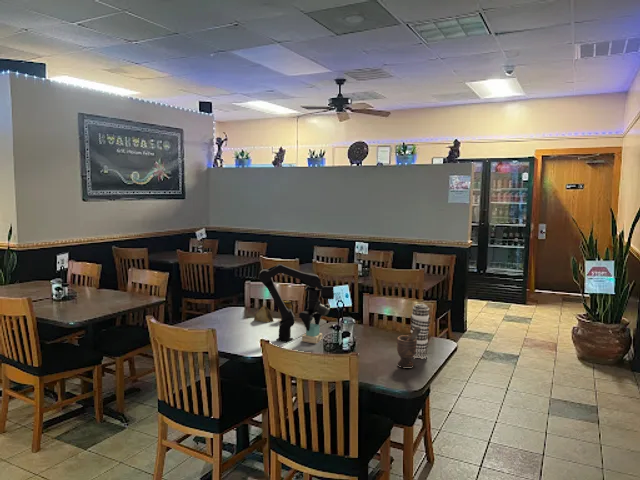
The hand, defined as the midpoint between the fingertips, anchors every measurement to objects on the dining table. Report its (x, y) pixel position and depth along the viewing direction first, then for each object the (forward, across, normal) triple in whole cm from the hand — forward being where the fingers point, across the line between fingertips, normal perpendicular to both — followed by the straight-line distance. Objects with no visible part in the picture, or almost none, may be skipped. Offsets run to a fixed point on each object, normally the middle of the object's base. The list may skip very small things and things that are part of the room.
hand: (312, 328), depth 248 cm
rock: (+7, +15, +42) cm, 45 cm away
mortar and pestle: (+6, -9, -55) cm, 56 cm away
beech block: (+7, 0, 0) cm, 7 cm away
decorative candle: (+6, +8, -54) cm, 55 cm away
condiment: (+6, +22, +30) cm, 38 cm away
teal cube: (+3, 0, 0) cm, 3 cm away
